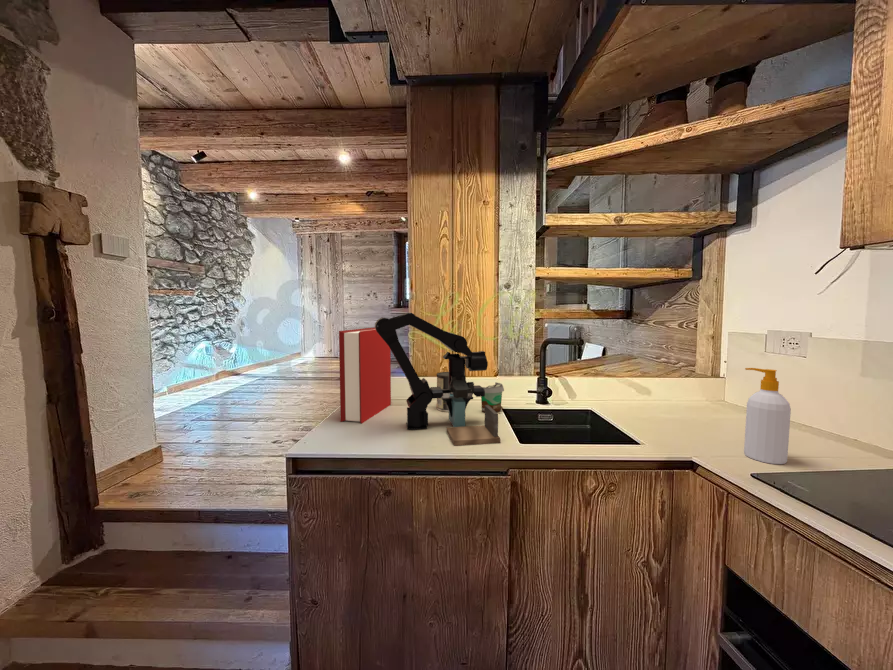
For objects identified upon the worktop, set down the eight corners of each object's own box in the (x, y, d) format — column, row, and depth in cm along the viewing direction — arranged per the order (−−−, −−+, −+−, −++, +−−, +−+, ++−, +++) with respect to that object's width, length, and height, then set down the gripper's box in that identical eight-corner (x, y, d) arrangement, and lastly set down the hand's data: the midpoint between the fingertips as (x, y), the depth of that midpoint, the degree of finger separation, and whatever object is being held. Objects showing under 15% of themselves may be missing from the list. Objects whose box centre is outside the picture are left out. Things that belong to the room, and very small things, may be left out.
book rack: (453, 445, 103) (453, 417, 102) (446, 432, 115) (446, 406, 114) (500, 442, 105) (500, 414, 105) (488, 429, 117) (488, 404, 116)
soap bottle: (741, 448, 102) (746, 365, 100) (787, 457, 95) (793, 369, 93) (738, 457, 95) (743, 369, 94) (787, 467, 89) (793, 373, 87)
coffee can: (467, 407, 144) (467, 373, 143) (453, 413, 135) (453, 377, 134) (445, 403, 149) (445, 370, 148) (431, 409, 141) (431, 374, 140)
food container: (493, 415, 132) (494, 389, 132) (479, 412, 136) (480, 387, 135) (509, 408, 142) (509, 383, 142) (495, 406, 146) (496, 382, 145)
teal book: (454, 428, 118) (454, 402, 117) (448, 419, 128) (448, 394, 128) (465, 428, 118) (465, 401, 118) (458, 418, 129) (458, 394, 128)
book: (361, 423, 123) (360, 331, 121) (340, 422, 125) (338, 330, 122) (392, 403, 149) (391, 327, 147) (374, 402, 151) (373, 327, 149)
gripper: (433, 376, 112) (433, 425, 114) (489, 375, 116) (489, 422, 117) (428, 370, 123) (428, 415, 124) (480, 369, 127) (480, 412, 128)
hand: (456, 416), depth 123 cm, fingers closed on teal book, 3 cm apart
